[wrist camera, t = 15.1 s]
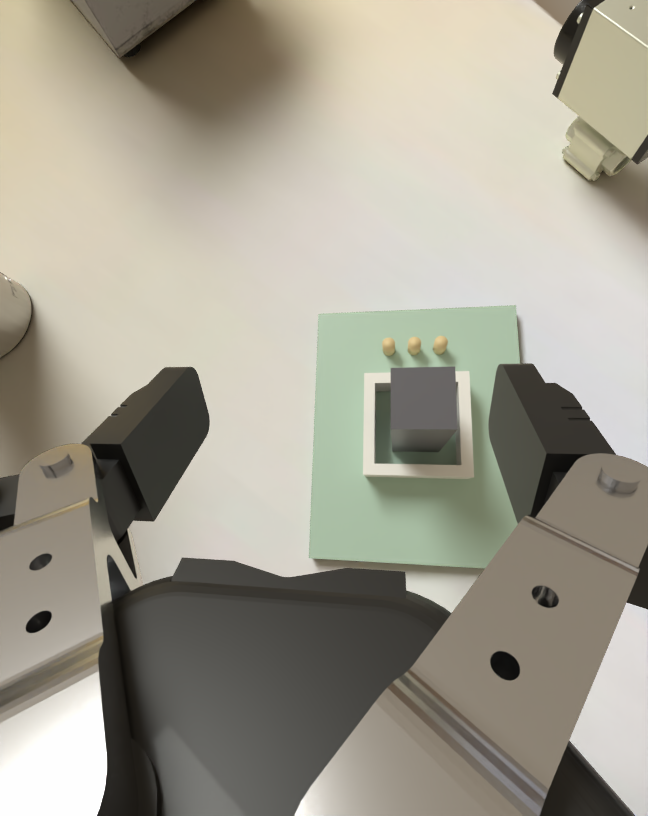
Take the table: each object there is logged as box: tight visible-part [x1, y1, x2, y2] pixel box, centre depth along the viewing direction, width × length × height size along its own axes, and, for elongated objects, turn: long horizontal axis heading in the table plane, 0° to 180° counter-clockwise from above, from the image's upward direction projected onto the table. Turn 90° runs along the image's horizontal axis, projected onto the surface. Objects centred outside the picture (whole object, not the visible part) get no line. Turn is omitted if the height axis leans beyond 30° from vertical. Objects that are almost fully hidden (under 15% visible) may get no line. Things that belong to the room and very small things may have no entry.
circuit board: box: [309, 305, 520, 568], centre depth 32 cm, size 20×16×4 cm
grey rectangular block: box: [391, 366, 458, 452], centre depth 27 cm, size 4×4×10 cm
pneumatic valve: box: [552, 0, 648, 181], centre depth 30 cm, size 6×12×12 cm, turn 34°
